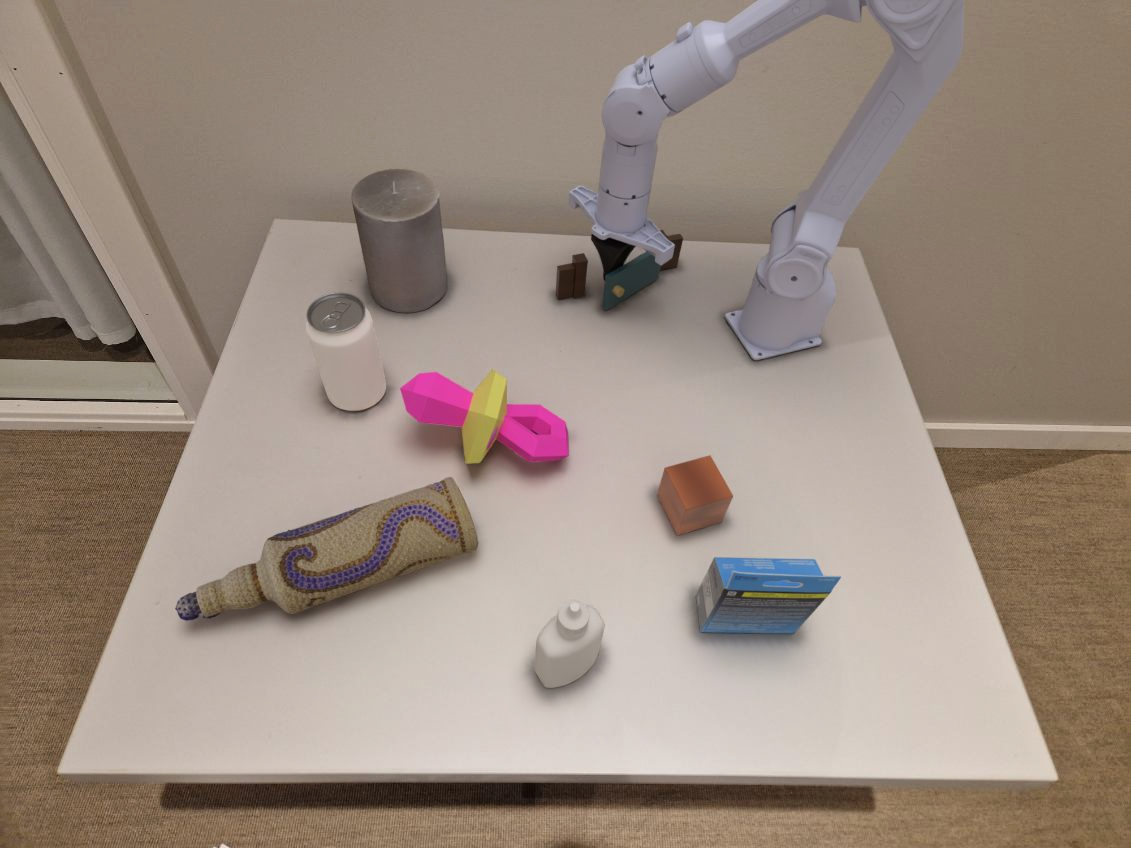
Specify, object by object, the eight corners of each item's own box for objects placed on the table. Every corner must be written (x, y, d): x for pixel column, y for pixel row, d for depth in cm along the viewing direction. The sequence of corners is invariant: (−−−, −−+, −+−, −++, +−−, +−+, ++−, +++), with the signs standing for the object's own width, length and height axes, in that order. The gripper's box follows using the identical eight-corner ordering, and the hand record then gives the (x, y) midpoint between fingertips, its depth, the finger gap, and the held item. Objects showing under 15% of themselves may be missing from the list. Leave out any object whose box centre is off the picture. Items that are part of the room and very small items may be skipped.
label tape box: (787, 596, 68) (832, 532, 58) (796, 638, 66) (844, 578, 56) (694, 594, 68) (724, 529, 58) (699, 636, 65) (731, 576, 56)
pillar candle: (369, 264, 93) (347, 160, 82) (445, 258, 95) (435, 155, 83) (370, 317, 88) (347, 213, 76) (452, 310, 89) (442, 207, 77)
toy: (550, 509, 74) (589, 426, 69) (376, 456, 70) (404, 365, 65) (551, 457, 82) (585, 380, 78) (395, 407, 79) (422, 323, 74)
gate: (554, 295, 92) (556, 259, 87) (671, 259, 97) (678, 223, 92) (560, 304, 91) (562, 268, 86) (678, 267, 96) (686, 231, 92)
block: (700, 482, 76) (710, 454, 72) (722, 522, 73) (733, 496, 69) (656, 494, 74) (664, 467, 70) (676, 536, 72) (686, 509, 68)
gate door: (601, 307, 90) (605, 275, 86) (654, 275, 94) (660, 243, 90) (611, 315, 90) (616, 283, 85) (664, 282, 94) (670, 250, 90)
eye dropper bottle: (533, 640, 64) (535, 580, 55) (596, 637, 65) (609, 578, 55) (535, 690, 62) (537, 637, 52) (600, 687, 62) (615, 633, 53)
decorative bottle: (458, 497, 73) (453, 460, 68) (482, 561, 69) (479, 527, 64) (184, 583, 66) (155, 549, 61) (193, 660, 62) (163, 631, 57)
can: (317, 406, 79) (289, 327, 70) (342, 363, 83) (319, 283, 73) (373, 419, 78) (353, 341, 69) (396, 375, 82) (380, 296, 73)
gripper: (552, 167, 80) (547, 264, 91) (651, 230, 74) (634, 325, 85) (596, 144, 83) (586, 240, 94) (694, 203, 77) (673, 298, 88)
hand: (612, 279), depth 90 cm, fingers closed
